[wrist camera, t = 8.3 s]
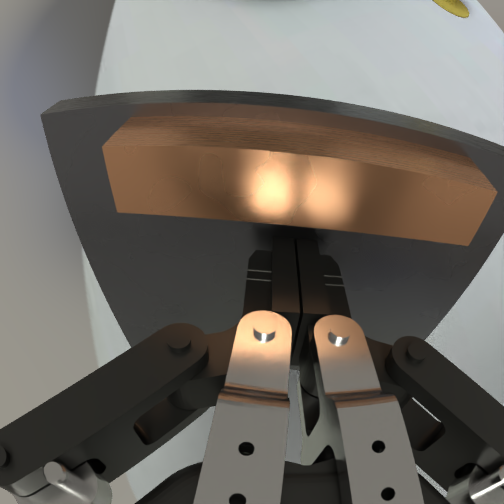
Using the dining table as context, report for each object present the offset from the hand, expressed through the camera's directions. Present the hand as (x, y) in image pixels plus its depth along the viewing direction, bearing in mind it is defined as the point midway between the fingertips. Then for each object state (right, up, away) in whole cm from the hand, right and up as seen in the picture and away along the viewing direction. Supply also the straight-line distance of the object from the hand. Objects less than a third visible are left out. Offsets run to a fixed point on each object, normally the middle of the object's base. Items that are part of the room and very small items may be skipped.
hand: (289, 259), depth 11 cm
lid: (0, 0, +2) cm, 2 cm away
